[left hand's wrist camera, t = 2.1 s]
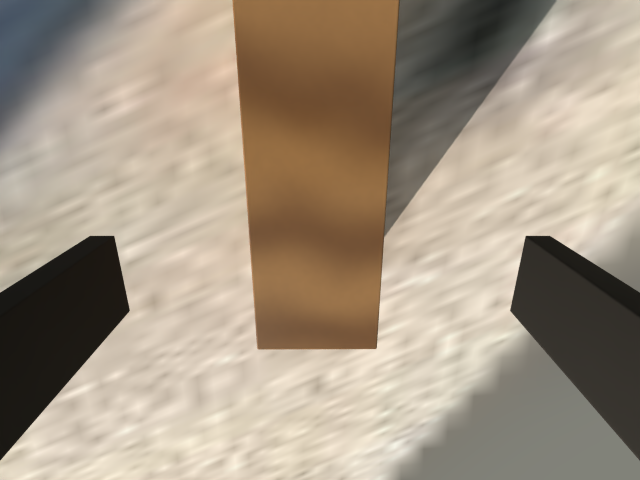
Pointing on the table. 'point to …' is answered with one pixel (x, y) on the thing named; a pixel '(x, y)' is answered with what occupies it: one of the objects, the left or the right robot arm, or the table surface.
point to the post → (316, 164)
